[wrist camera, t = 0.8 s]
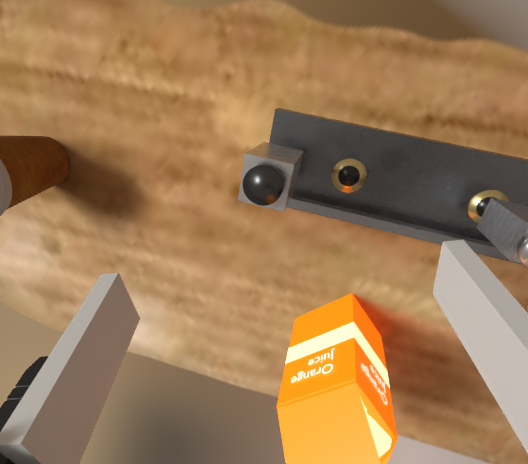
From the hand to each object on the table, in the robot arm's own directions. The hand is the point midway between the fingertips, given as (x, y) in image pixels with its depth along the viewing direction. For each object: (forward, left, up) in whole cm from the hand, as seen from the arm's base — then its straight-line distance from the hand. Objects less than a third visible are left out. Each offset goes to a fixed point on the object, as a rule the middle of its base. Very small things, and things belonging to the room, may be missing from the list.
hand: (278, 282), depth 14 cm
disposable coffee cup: (+22, +29, -26) cm, 44 cm away
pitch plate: (-6, -5, -26) cm, 27 cm away
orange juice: (-19, +11, -26) cm, 34 cm away
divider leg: (+3, +2, -23) cm, 24 cm away
